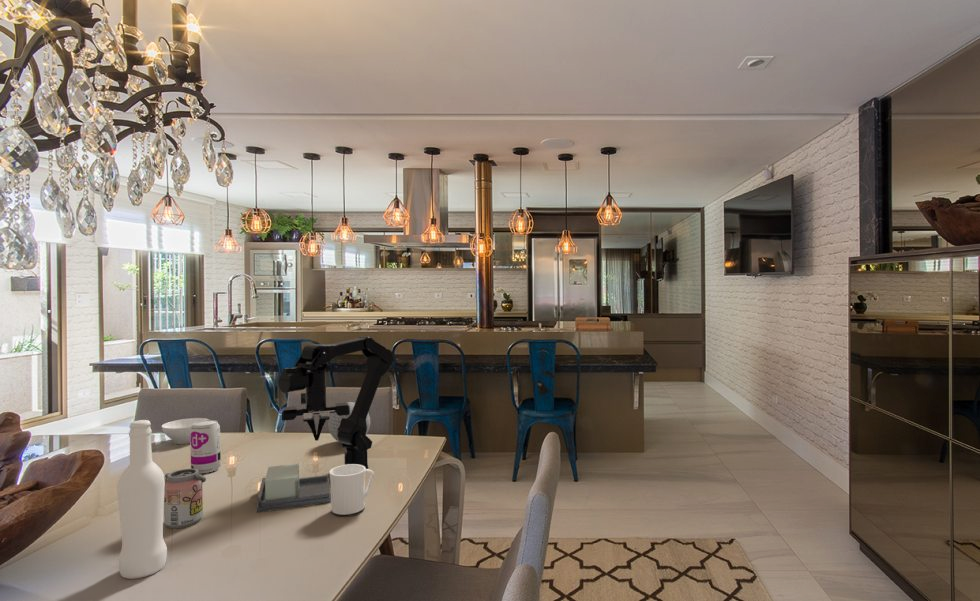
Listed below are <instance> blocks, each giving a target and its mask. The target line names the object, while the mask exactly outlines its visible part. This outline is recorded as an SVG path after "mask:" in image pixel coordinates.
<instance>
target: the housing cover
mask: <svg viewBox="0 0 980 601" xmlns="http://www.w3.org/2000/svg"><path fill="white" fill-rule="evenodd" d="M265 478H266V480H265V500H273V499H280V498H288V497H295V496H299V478H300V463H298V462H297V463H290V464H283V465H282V464H281V465H280V464H279V465H273V466H267V472H266V475H265Z"/></svg>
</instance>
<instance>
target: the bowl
mask: <svg viewBox="0 0 980 601" xmlns="http://www.w3.org/2000/svg"><path fill="white" fill-rule="evenodd" d="M207 420H210V418H209V419H208V418H203V417H193V418H191V417H190V418H183V419H182V418H181V419H176V420H172V421H169V422H165V423H162V425H161V430H162V431H163V434H165V435H166V437H167V438H169V439H171V441H173V443H175V444H176V445H188V444H190V429H191V427H192V424H193V423H196V422H200V421H207Z"/></svg>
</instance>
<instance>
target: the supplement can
mask: <svg viewBox="0 0 980 601" xmlns="http://www.w3.org/2000/svg"><path fill="white" fill-rule="evenodd" d="M189 444H190V445H189V446H190V469H197V470H198V471H199V473H200V474H201V475H203V474H202V473H206V474H210V473H209V472H211V473H214V472H216V471H218V470H219V469H218V468H221V465H222V464H221V462H222V461H221V459H222V458H221V426H220V424H219V423H218V420H214V419H213V420H211V419H209V420H207V421H200V422H196V423H193V424H192V427H191V429H190V443H189ZM217 469H218V470H217ZM213 471H214V472H213Z"/></svg>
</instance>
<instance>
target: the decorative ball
mask: <svg viewBox="0 0 980 601" xmlns="http://www.w3.org/2000/svg"><path fill="white" fill-rule="evenodd" d="M346 402H347V401H346ZM347 403H348V404H349V407H350V415H351V413H352V410H353V408H354V405H355V402H354V401H353V402H352V401H349V402H347ZM350 415H342V416H339V415H337V414H336V413H330V414H329V417H330V419H329V420H328V424H327V425H328V426H327V427H328V430H329V433H330V435H331V437H332V438H333V439H334V440H336V441H337V442H339V443H341V442H340V441H339V439H338V437H337V434H338V430H337V429H338V428H339V426H340V423H341V420H342V418H346V419H347V418H348V417H349V416H350ZM366 424H367V431H366V435H367V434H368V432H369V430H370V428H371V427H370V426H371V417H370V414H369V412H368V415H367V417H366Z"/></svg>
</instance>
